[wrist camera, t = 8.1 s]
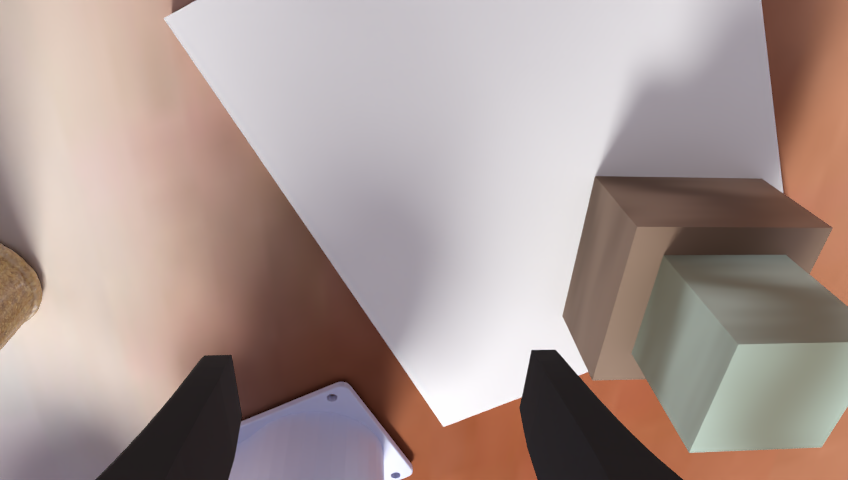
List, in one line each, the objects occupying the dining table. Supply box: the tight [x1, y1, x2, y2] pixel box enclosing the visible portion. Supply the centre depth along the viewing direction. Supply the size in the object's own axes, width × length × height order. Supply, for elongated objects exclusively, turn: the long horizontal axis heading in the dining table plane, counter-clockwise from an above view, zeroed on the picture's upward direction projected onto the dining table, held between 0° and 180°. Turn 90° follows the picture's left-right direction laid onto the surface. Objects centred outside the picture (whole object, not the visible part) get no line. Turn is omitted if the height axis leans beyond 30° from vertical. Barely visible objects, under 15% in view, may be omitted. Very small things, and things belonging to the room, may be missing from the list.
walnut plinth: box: [562, 176, 832, 380], centre depth 22 cm, size 7×7×4 cm
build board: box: [164, 0, 783, 427], centre depth 22 cm, size 18×22×1 cm
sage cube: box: [631, 255, 848, 453], centre depth 18 cm, size 4×4×4 cm
